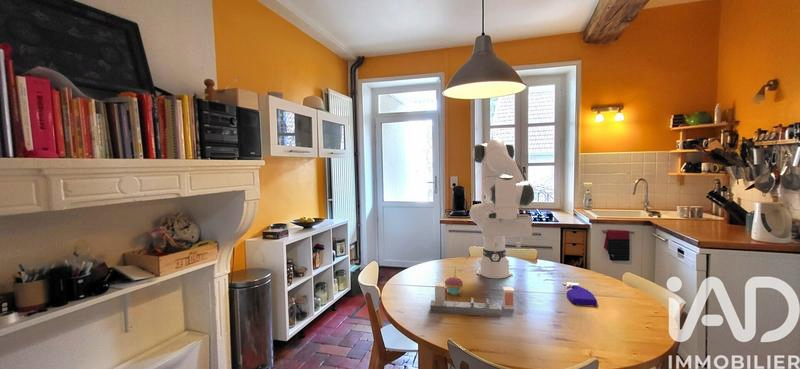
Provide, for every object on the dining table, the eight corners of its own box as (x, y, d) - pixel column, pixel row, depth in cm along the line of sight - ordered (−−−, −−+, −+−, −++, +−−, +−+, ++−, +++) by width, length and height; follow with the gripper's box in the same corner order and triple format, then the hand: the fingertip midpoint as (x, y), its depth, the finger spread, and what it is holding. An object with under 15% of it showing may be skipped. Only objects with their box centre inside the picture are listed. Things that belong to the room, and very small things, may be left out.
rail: (431, 307, 144) (431, 282, 143) (499, 311, 139) (499, 284, 138) (430, 312, 139) (429, 286, 138) (501, 316, 134) (500, 289, 133)
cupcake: (449, 288, 165) (448, 264, 164) (465, 291, 161) (465, 266, 160) (442, 294, 158) (441, 269, 157) (459, 297, 153) (458, 271, 153)
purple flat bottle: (599, 300, 141) (584, 281, 164) (570, 298, 143) (559, 279, 167) (599, 307, 141) (584, 287, 164) (570, 305, 144) (559, 285, 167)
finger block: (504, 309, 140) (504, 290, 139) (502, 304, 145) (502, 286, 144) (514, 310, 139) (514, 291, 139) (512, 305, 144) (512, 287, 143)
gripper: (530, 213, 143) (531, 246, 143) (481, 213, 147) (481, 245, 147) (533, 214, 137) (534, 248, 137) (482, 214, 141) (482, 247, 141)
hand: (506, 246), depth 142 cm, fingers open, 8 cm apart
